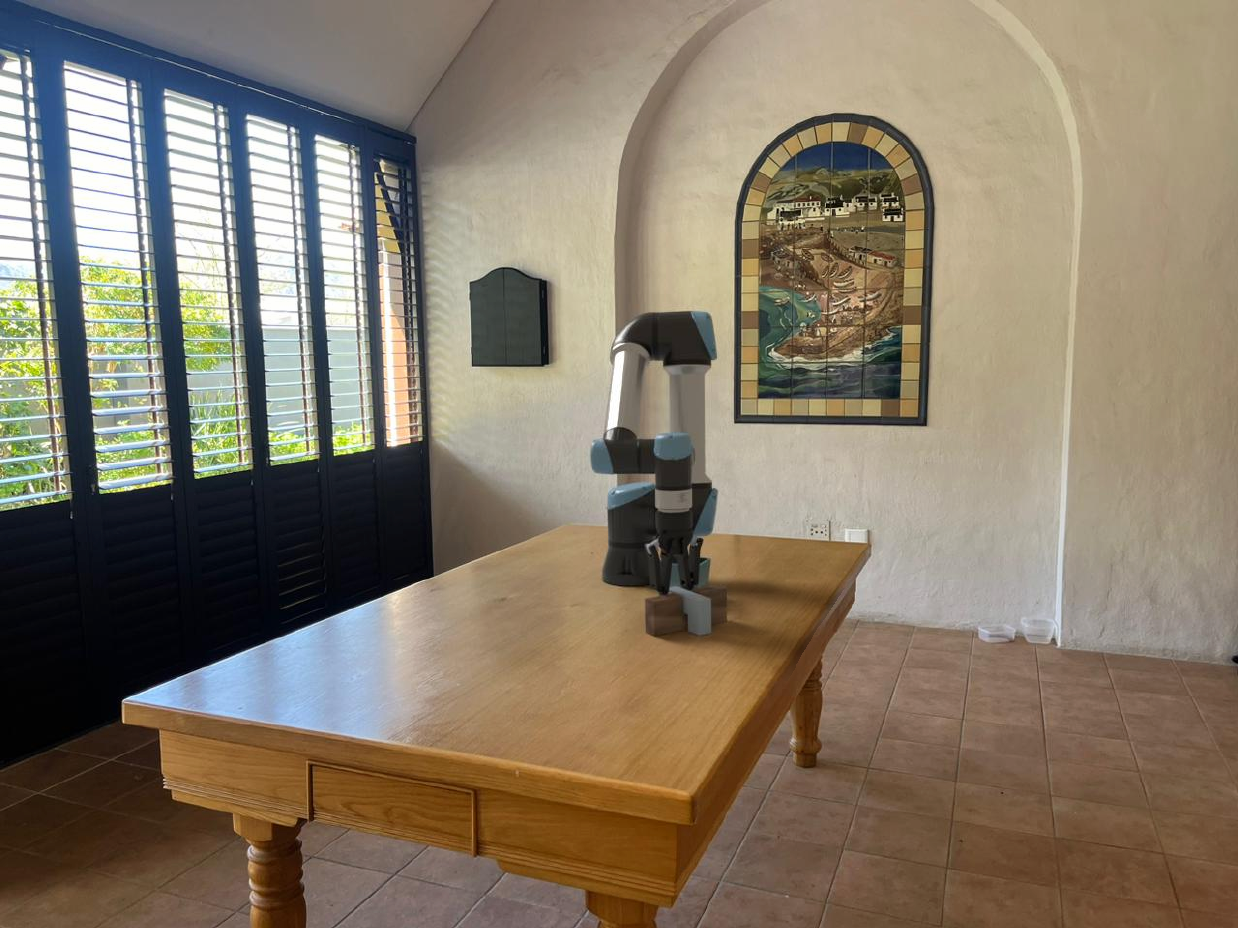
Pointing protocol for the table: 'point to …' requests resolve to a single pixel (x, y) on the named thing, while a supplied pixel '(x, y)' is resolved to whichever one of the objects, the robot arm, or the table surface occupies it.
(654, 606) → the walnut notched block
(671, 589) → the light blue notched brick
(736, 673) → the table surface
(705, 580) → the flower pot
